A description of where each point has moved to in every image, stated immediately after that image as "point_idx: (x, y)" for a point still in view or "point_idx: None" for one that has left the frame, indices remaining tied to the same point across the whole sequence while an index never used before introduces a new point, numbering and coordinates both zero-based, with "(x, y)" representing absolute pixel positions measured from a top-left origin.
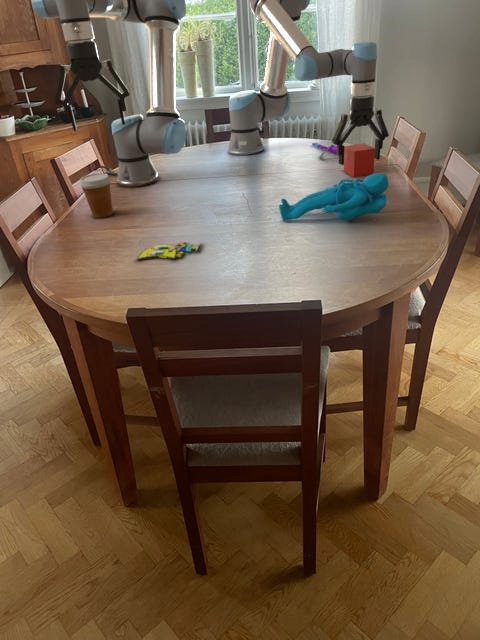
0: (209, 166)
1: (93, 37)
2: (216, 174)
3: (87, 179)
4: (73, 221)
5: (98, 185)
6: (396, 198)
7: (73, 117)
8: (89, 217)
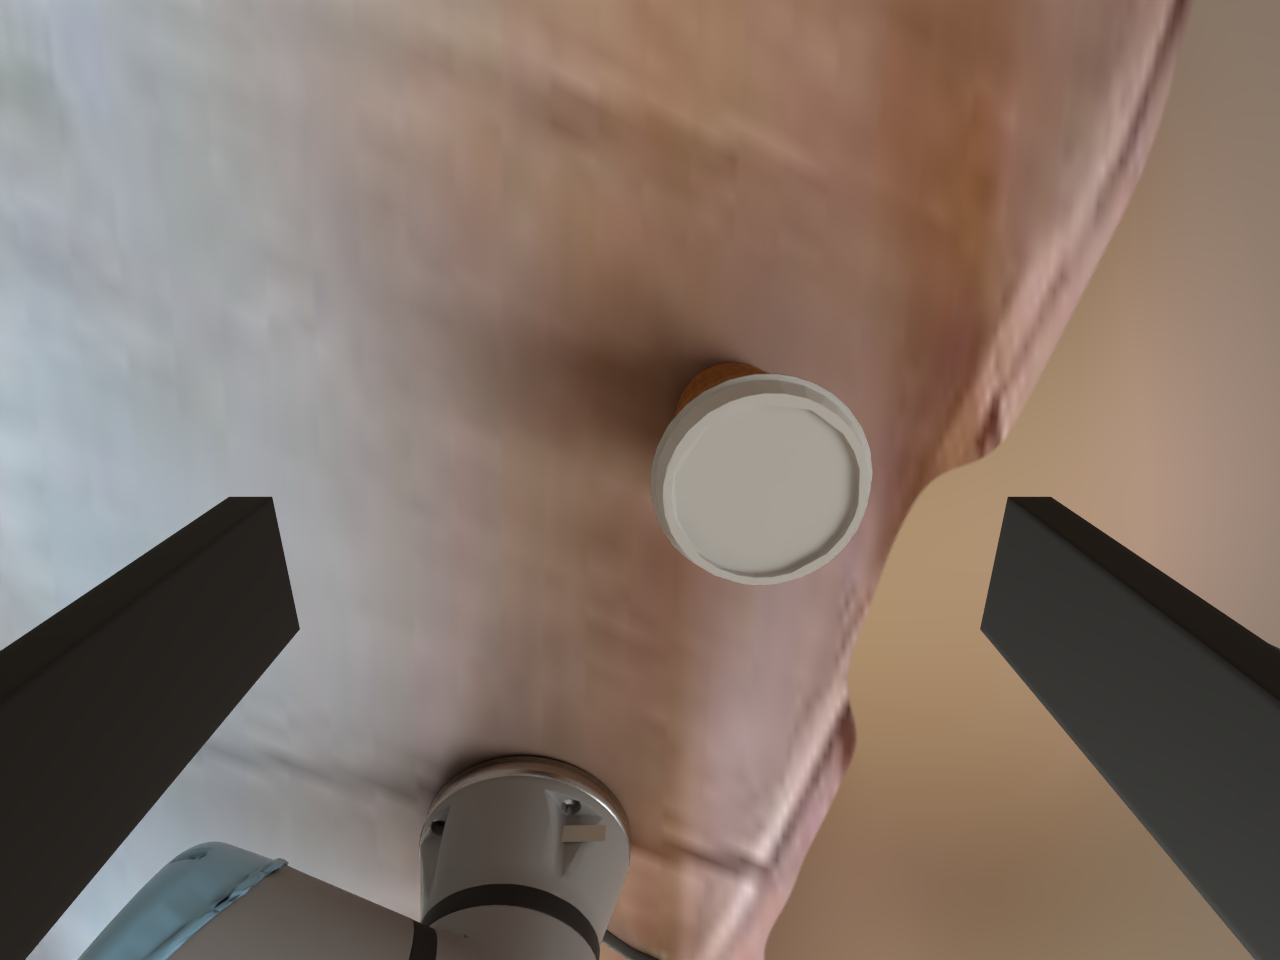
0: None
1: None
2: None
3: (814, 491)
4: (894, 386)
5: (742, 377)
6: None
7: (1124, 647)
8: None
